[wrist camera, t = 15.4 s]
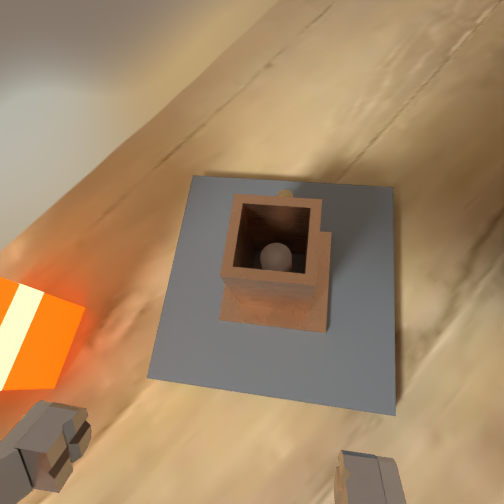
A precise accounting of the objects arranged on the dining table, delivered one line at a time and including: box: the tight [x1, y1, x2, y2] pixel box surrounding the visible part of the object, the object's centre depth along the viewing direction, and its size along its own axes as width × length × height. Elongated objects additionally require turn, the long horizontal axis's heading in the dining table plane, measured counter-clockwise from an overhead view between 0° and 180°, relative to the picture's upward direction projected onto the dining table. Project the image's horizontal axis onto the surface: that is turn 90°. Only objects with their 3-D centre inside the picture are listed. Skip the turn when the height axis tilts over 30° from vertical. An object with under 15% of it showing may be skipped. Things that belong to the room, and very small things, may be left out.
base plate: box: [147, 175, 396, 416], centre depth 29 cm, size 20×20×6 cm
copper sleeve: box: [219, 194, 332, 333], centre depth 26 cm, size 9×9×9 cm
